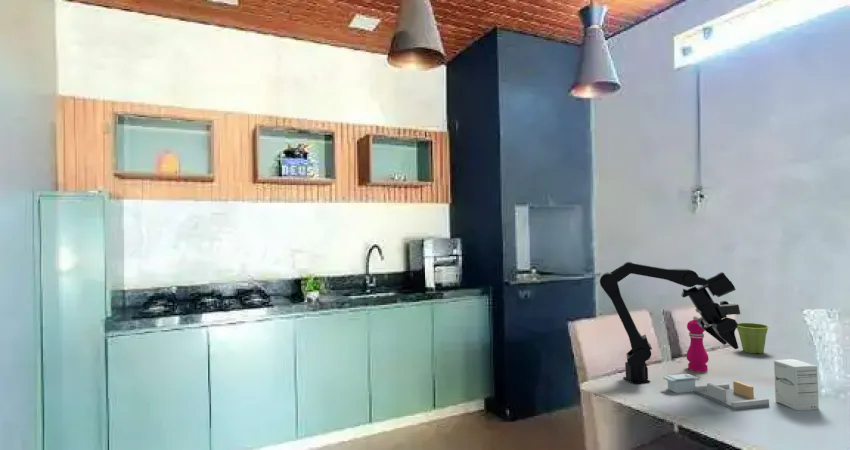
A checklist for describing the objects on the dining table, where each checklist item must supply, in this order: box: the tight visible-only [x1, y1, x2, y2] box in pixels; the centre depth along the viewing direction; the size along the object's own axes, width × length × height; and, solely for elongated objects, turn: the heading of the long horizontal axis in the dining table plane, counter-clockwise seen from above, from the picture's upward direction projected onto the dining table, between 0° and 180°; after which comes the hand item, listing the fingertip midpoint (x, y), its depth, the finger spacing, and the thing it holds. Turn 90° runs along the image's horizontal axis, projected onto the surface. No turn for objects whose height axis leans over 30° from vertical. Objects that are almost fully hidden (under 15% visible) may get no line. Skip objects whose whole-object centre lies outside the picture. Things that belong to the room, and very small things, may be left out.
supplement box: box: [773, 358, 820, 411], centre depth 135 cm, size 7×7×13 cm
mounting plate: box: [694, 380, 770, 411], centre depth 141 cm, size 12×15×4 cm
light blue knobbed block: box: [662, 373, 700, 394], centre depth 150 cm, size 10×4×5 cm, turn 100°
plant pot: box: [736, 322, 770, 354], centre depth 194 cm, size 12×12×11 cm
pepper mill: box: [685, 315, 710, 372], centre depth 172 cm, size 7×7×20 cm
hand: (730, 346), depth 150 cm, fingers open, 9 cm apart
